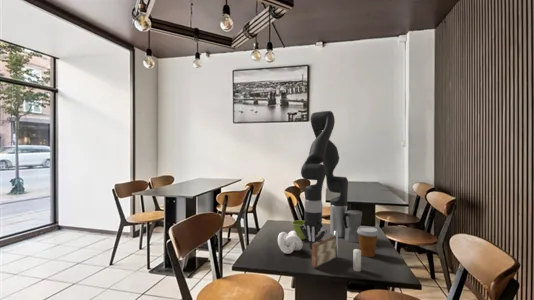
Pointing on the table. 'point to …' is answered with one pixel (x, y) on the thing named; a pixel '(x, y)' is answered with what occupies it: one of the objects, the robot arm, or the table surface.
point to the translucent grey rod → (336, 244)
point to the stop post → (357, 260)
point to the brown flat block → (323, 250)
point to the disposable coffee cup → (367, 240)
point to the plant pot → (298, 228)
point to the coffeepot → (352, 224)
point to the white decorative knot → (289, 242)
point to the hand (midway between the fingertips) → (313, 249)
